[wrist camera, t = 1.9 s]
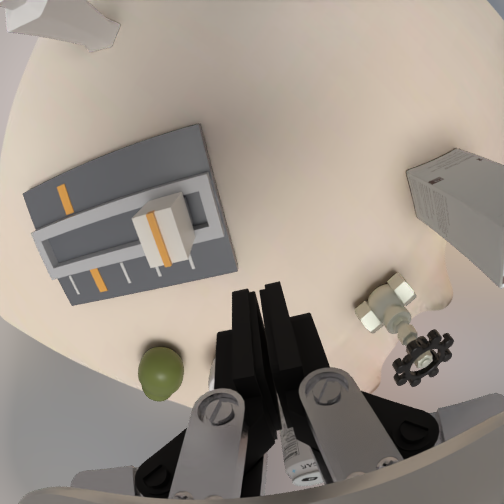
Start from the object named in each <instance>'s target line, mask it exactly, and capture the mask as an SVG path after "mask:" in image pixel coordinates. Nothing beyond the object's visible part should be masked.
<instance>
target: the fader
mask: <svg viewBox="0 0 504 504" xmlns="http://www.w3.org/2000/svg"><path fill="white" fill-rule="evenodd" d="M132 221H133V224H134V227H135V229H136V232H137V235H138V237H139V240H140V243H141V245H142V248H143V250H144V253H145V256H146V258H147V261H148V263H149V266H150V268H154V267H158V266H162V265H164V266H165V267H170V266H172V263H175V262H180V261H184V260H188V258H189V255H190V252H191V249H192V245H193V242H194V239H195V233H194V229H193V226H192V225H193V220H192V216H191V213H190V210H189V206H188V203H187V200H186V197H185V198H184V197H183V193H182V192H178V193H175V194H171V195H168V196H164V197H161V198H157V199H154V200H150V201H148V202H147V203H146V204H145V205H144V206H143V207H142V208H141V209H140V210H139V211H138V212H137V213H136V214H135V216H134V217H133V218H132Z"/></svg>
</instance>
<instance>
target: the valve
mask: <svg viewBox="0 0 504 504" xmlns="http://www.w3.org/2000/svg"><path fill="white" fill-rule="evenodd" d="M387 282H388V284H385V285H382V286H379V287H378V288H376V289H375V290H374V291H373V292H372V293H371V295H370V296H369V298H368V302H366V301H364V302H363V303H362V304H360V305H359V306H358V307H357V308H356V309H355V313H356V315H357V317H358V318H359V320H360V321H361V322H362V324H363V325H364V326H365V327H366V329H367V330H368V331H369V332H370V333H375V332H376V331H378V330H379V329H380V328H381V327H383V326H385V327H386V329H387V330H388V332H389V333H392V334H396V333H398V338H399V340H400V341H401V343H402V345H407V347H406V348H407V349H406V352H407V353H408V354H407V355H406V356H405V357H404V358H403V360H402V361H401V359H400V358H398V359H396V360H395V361H394V362H393V364H392V366H393V367H394V369H395V371H396V374H395V375H394V380H395V381H396V384H397V385H398V386H401V385H403V384H405V383H406V382H407V380H408V381H409V383H410V385H411V386H412V387H415V386H417V385H418V384H419V383H420V382H421V378H422V377H424V376H426V375H429V377H434V376H435V375H437V373H438V372H439V370H438V368H437V366H438V365H439V364H440V363H441V362H442V361H443V362H446V361H448V360H449V359H450V358H451V357H452V353H451V352H450V350H449V349H448V348H449V347H450V346H452V344H453V342H454V340H453V338H452V337H451V336H450V335H449V333H446V334H444V335H443V337H444V338H445V339H444V340H443V341H442V342H440V341H441V339H442V337H441V335H440V334H439V333H438V331H437V330H435V329H434V330H431V331H430V332H429V333H428V335H427V336H428V338H429V341H427V339H426V338H425V337H424V336H420V337H418V338H417V332H416V330H415V328H414V327H413V326H412V325H409V323H410V321H411V314H410V313H409V312H408V310H407V309H406V308H405V307H404V305H406V306H407V305H408V304H409V303H411V302H412V301H413V300H414V299H415V298H416V294H415V292H414V291H413V290H412V288H411V287H410V286H409V284H408V283H407V282H406V281H405V279H404V278H403V277H402V276H401V275H400V274H399V273H396V274H395V275H394V276H392V277H391V278H390V279H389V280H388V281H387ZM432 349H438V353H436V352H435V351H434V350H432ZM432 359H433V361H432ZM431 361H432V362H431ZM430 362H431V363H430ZM413 363H415V365H416V366H417V368H423V369H421V370H419V371H414V372H413V371H410V368H411V365H412V364H413ZM429 363H430V364H429ZM424 367H425V368H424ZM400 373H402V374H401V375H400V376H399V375H398V374H400Z"/></svg>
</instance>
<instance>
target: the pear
mask: <svg viewBox="0 0 504 504" xmlns="http://www.w3.org/2000/svg"><path fill="white" fill-rule="evenodd" d="M183 375H184V367H183V362H182V360H181V358H180V356H179V355H178V354H177V353H176V352H174V351H173V350H171V349H169V348H166V347H155V348H152V349H150V350H148V351H147V352H146V353H145V354H144V356H143V357H142V359H141V361H140V364H139V369H138V378H139V381H140V383H141V385H142V389H143V391H144V393H145V395H146V396H147V397H148V398H149V399H152V400H154V401H164V400H166V399H168V398H169V397H170V396H171V395H172V393H174V392H176V391H177V390H178V389H179V387H180V385H181V383H182V380H183Z"/></svg>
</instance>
